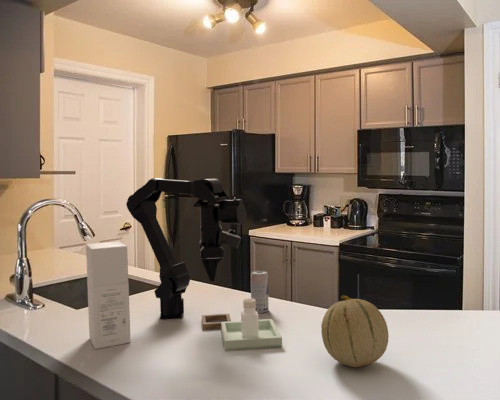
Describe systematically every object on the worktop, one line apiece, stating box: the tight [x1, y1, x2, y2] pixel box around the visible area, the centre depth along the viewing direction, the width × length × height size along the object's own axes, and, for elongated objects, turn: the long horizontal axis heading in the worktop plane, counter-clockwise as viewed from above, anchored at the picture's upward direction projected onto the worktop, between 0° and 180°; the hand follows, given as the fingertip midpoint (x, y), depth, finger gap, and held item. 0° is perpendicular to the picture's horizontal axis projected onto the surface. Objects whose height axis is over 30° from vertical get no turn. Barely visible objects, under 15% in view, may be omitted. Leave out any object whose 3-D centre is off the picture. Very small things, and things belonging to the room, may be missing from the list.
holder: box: [201, 313, 232, 331], centre depth 130 cm, size 8×8×2 cm
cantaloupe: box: [320, 294, 390, 368], centre depth 102 cm, size 15×15×15 cm
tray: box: [220, 318, 283, 352], centre depth 118 cm, size 14×14×2 cm
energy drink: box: [250, 270, 269, 314], centre depth 141 cm, size 5×5×12 cm
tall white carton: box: [85, 241, 131, 350], centre depth 118 cm, size 9×9×25 cm
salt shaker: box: [240, 298, 260, 338], centre depth 118 cm, size 4×4×10 cm
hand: (211, 277), depth 131 cm, fingers open, 9 cm apart
